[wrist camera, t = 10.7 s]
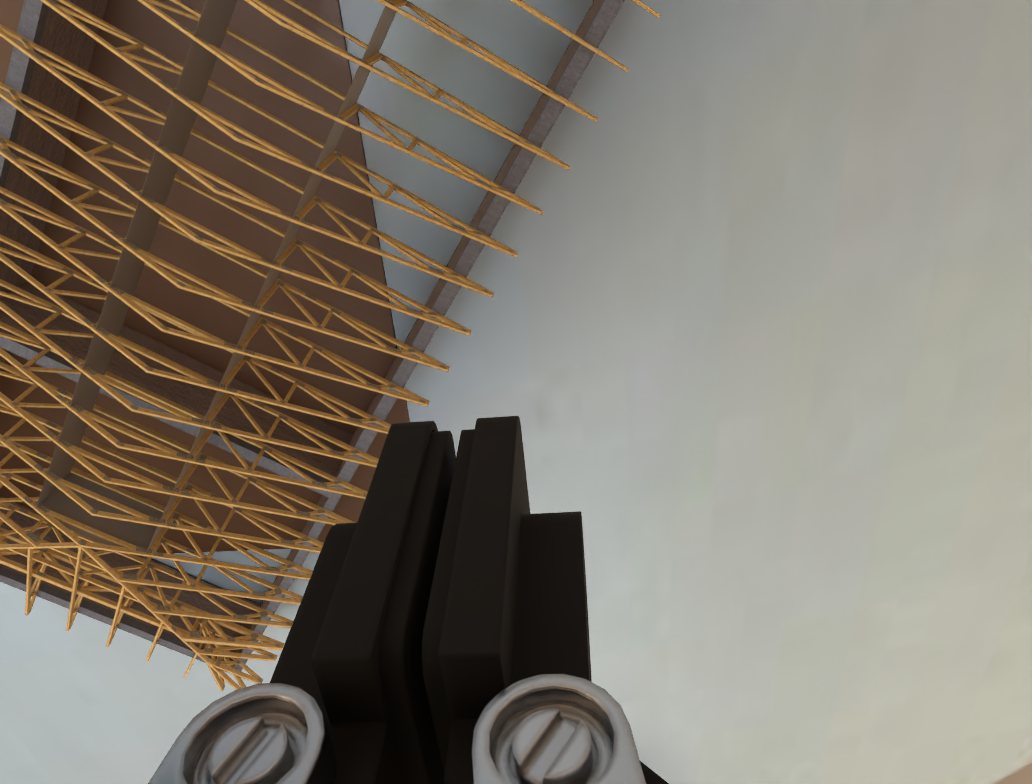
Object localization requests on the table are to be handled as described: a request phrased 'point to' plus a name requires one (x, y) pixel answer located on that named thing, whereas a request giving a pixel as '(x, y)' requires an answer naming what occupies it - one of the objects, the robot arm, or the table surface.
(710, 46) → the table surface
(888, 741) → the table surface
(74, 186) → the brown flat board
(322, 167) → the rafter model
